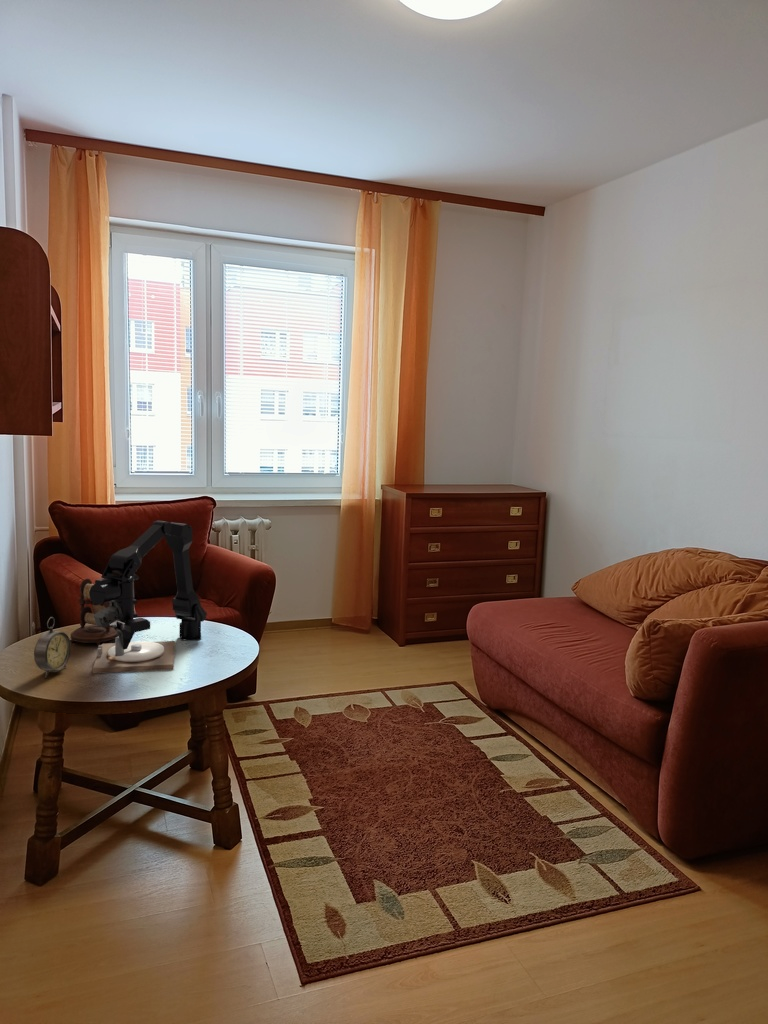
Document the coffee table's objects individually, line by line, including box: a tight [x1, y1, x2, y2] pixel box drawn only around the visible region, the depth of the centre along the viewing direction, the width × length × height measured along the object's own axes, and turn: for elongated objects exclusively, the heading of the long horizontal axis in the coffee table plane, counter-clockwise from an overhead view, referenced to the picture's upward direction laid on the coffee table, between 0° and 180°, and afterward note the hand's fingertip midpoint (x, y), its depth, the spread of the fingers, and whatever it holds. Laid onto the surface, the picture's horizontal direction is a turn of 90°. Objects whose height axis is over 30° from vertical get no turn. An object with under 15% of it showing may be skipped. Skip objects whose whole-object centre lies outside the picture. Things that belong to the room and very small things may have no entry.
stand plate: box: [92, 640, 176, 674], centre depth 217 cm, size 22×22×4 cm
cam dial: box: [108, 636, 164, 662], centre depth 216 cm, size 18×16×6 cm
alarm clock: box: [33, 616, 72, 679], centre depth 202 cm, size 11×5×16 cm, turn 168°
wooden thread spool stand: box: [70, 578, 119, 647], centre depth 232 cm, size 15×15×20 cm
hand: (125, 649), depth 210 cm, fingers closed
